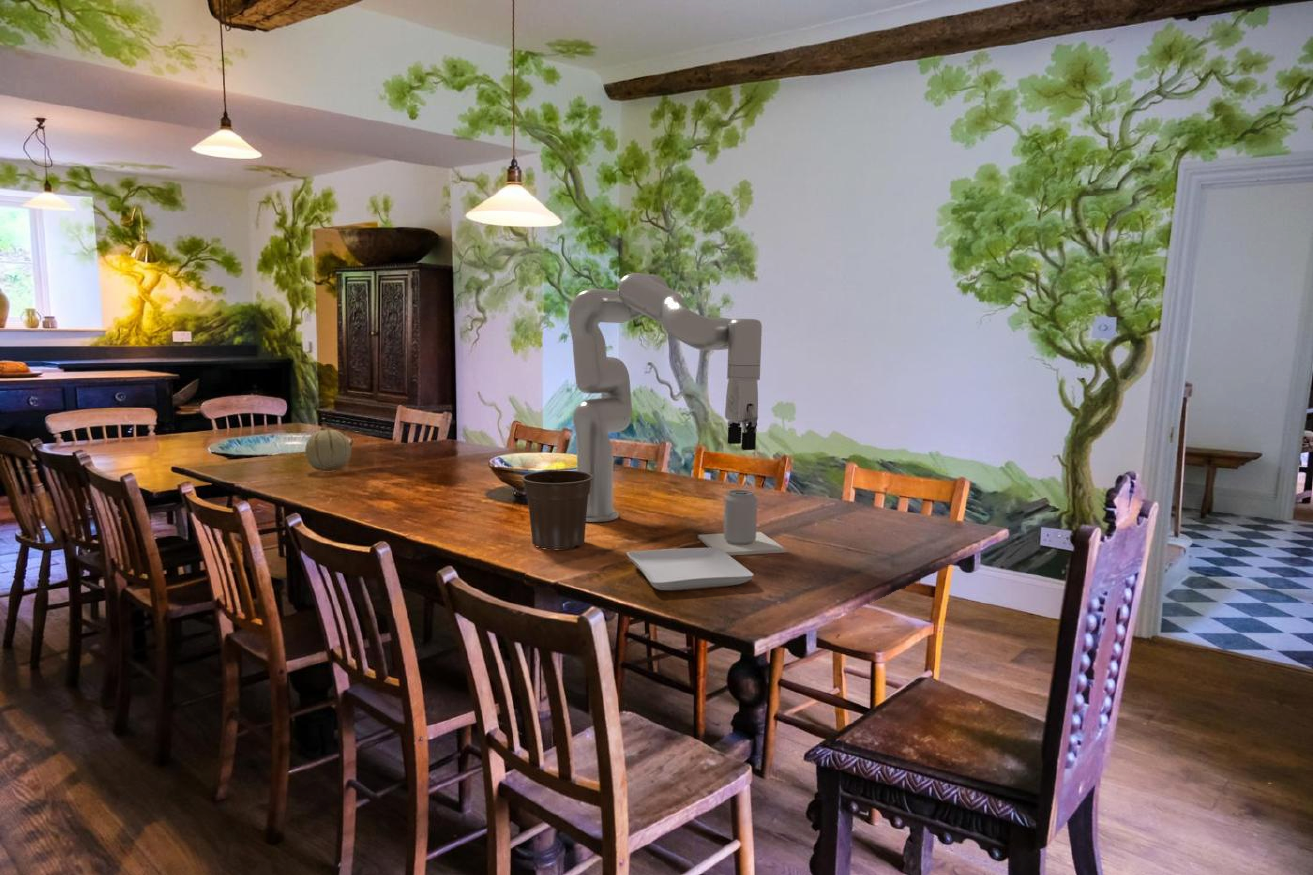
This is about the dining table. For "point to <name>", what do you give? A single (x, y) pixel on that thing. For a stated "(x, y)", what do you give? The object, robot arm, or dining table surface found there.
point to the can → (740, 517)
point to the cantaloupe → (328, 450)
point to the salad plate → (689, 568)
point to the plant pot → (557, 507)
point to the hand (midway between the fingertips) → (741, 446)
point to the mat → (756, 547)
